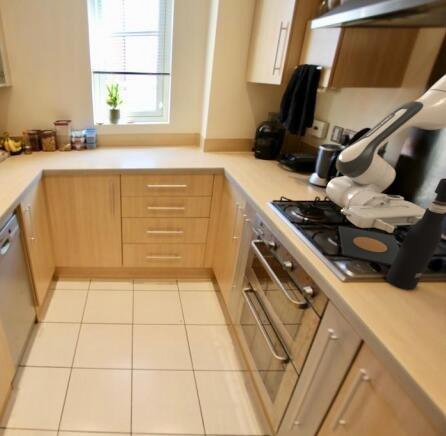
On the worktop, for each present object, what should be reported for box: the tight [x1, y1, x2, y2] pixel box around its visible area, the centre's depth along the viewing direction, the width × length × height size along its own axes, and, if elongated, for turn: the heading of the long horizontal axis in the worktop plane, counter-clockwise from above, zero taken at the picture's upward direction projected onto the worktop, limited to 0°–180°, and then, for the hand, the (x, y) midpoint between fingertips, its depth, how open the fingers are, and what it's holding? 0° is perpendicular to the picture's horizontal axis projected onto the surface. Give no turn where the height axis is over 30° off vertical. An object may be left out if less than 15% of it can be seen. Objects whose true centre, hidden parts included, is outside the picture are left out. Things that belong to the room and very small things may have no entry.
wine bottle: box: [385, 177, 446, 291], centre depth 80 cm, size 6×6×30 cm
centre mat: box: [338, 225, 400, 267], centre depth 103 cm, size 16×20×1 cm
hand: (410, 229), depth 84 cm, fingers open, 8 cm apart
